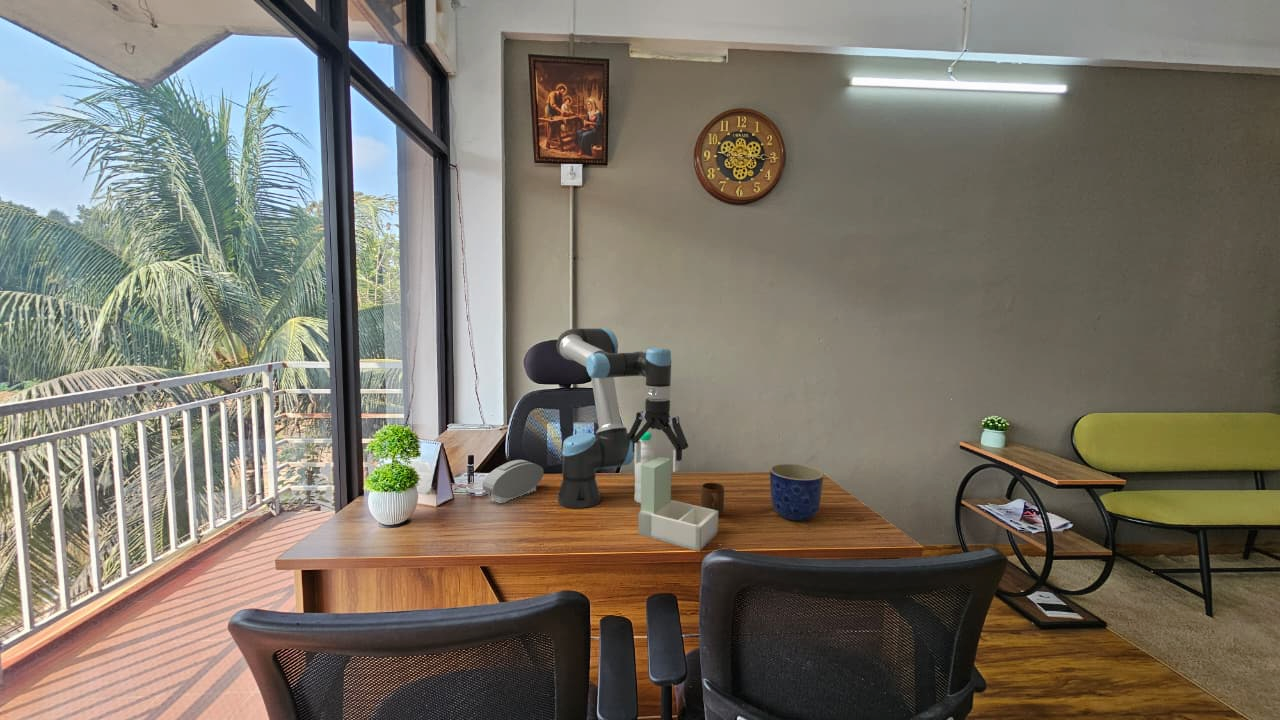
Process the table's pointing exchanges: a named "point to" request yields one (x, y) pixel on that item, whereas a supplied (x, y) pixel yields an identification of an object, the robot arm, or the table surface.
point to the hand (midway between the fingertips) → (656, 466)
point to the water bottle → (646, 456)
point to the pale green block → (655, 484)
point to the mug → (713, 497)
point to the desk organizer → (680, 525)
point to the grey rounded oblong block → (512, 480)
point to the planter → (795, 490)
